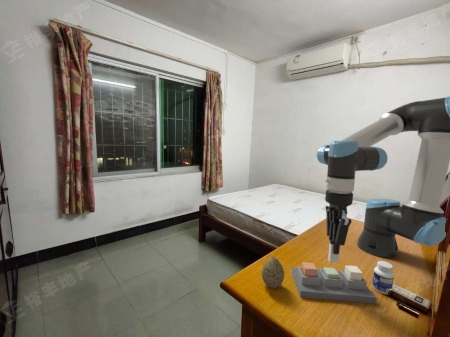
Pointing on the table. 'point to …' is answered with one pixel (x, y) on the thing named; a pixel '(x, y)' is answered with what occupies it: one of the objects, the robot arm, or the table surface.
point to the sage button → (330, 273)
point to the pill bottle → (383, 277)
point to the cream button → (353, 273)
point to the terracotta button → (309, 269)
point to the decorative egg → (273, 273)
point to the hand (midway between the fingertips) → (333, 261)
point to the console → (332, 287)
